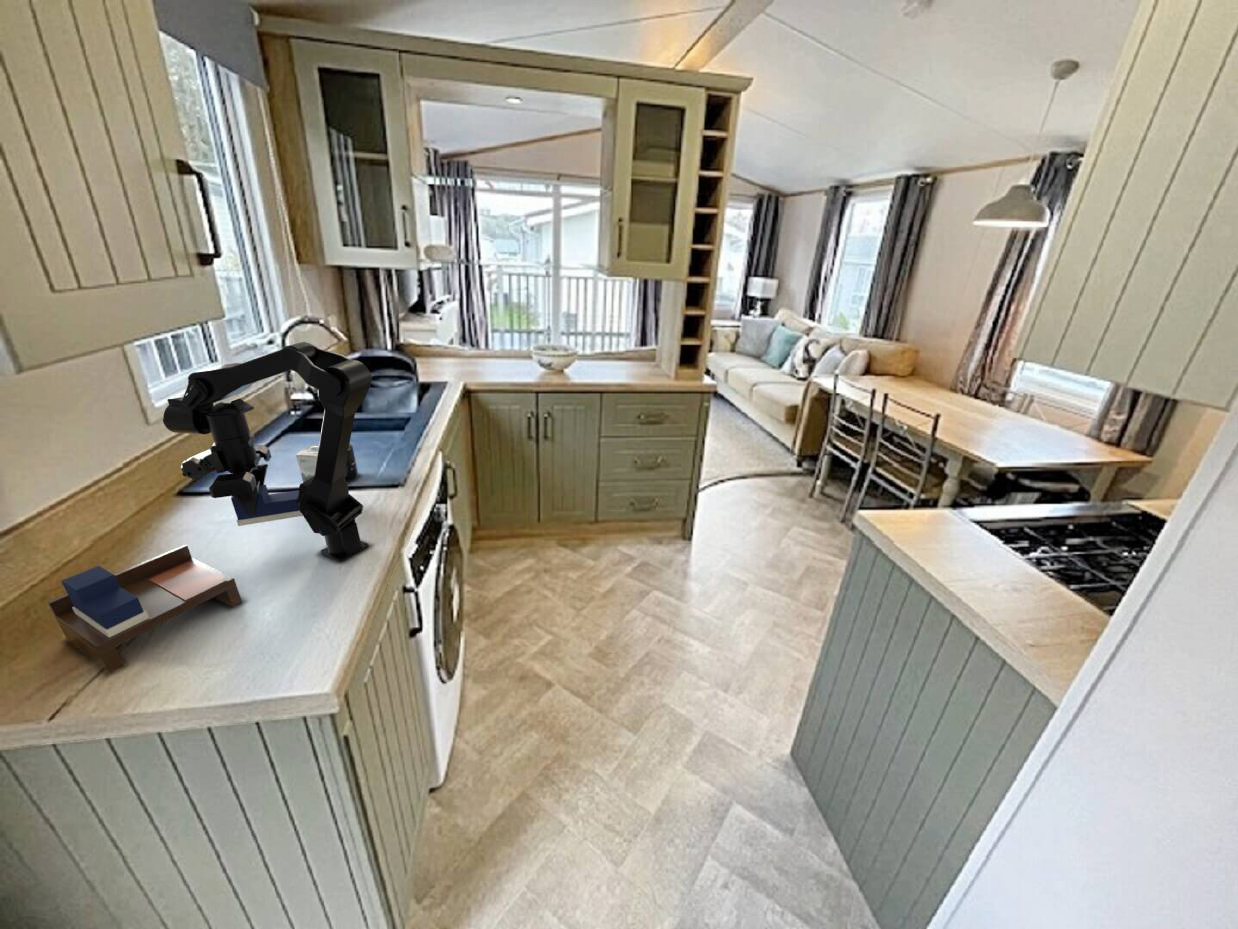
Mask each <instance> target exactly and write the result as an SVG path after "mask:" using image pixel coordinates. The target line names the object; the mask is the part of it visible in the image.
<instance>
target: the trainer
mask: <svg viewBox="0 0 1238 929" xmlns="http://www.w3.org/2000/svg"><path fill="white" fill-rule="evenodd" d="M298 497H299V489H296V490H290V491H289V490H288V491H283V492H277V493H269V491H268V487H267V484H264V485H259V491H258V498H257V506H256V512H255V514H254V515H248V514H247V513H246V511H245V510H244V509H243V508H242V506H241V505H240V504H239V503H238V501H237V500H236V499H235V498H234V497H233V496H230V500H231V503H232V507H233V510H234V512H235V515H236V518H237V520H236V523H237V526H238V527H242V526H246V525H254V524H261V523H266V522H267V523H268V522H273V521H279V520H285V519H291V518H298V517H304V516H303V515H302V513H300V510H299V503H296V501H297V500H298Z"/></svg>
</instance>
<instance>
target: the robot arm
mask: <svg viewBox="0 0 1238 929" xmlns="http://www.w3.org/2000/svg"><path fill="white" fill-rule="evenodd" d="M289 371H293V372H295V373H296V374H298V375H299V377H300V378H301V379H302V380H303V381H304V383H305V384H307V385H308V386H310V387H312V388H314V389H315V390H317V397H318V399H319V402H320V403H321V405H322V407H323V409H324V411H323V418H322V424H321V431H320V438H319V443H318V446H319V449H318V456H317V462H316V468H315V475H314V476H312V477H311V478H309V479H308V480H306V481H305V482H303V481H302V482H301V483H300V484H299V486H298V490H299V497H298V500H297V501H296V503H299V510H300V513H302V515H303V516H302V517H303V518H304V520H305V521H306V523H307V524H308V526H309V527H310V529H311V530H312V532H313V533H314V534H319V535H320V536H321V537H324V541H325V544H326V547H324V548H323V549H321V550H320V554H321V555H324V556H326V557H328V558H330V559H333V560H336V561H338V562H343V561H346V560H347V559H350V558H351V557H353V556H355V555H357V554H359V553H360V552H362V551H364V550H365V549H367V548H369V547H370V545H369V544H370V543H368V542H365V541H362V540H361V536H360V532H359V528H358V523H357V522H356V518H358V517H359V516H361V515H362V514H363V510H364V505H363V504H362V503H361V502H360V501H358V499H356V498H355V497H354V496H353V495H351V493H350V492H349V491H350V490H349V489H350V487H349V484H348V482H346V480H345V479H344V471H345V465H346V460H347V454H348V449H349V444H351V437H352V432H353V427H354V421H355V418H356V417H355V416H356V413H357V411H358V409H359V408H360V406H361V405H362V403H363V402H364V400H365V399H366V398H367V395H368V392H369V390H370V387H371V385H372V382H373V375H372V372H371V371H370V370H369V369H368V367H367V366H366V365H365V364H364V363H363V362H361V361H359V360H357V359H351V358H349V357H347V356H345V355H344V354H340V353H337V352H334V351H330V350H326V349H323V348H320V347H318V346H316V345H315V344H312V343H310V342H306V341H301V342H300V341H299V342H297V343H292V344H290V345H286V346H284V347H283V348H281V349H279V350H277V351H273V352H270V353H267V354H265V355H262V356H259V357H257V358H252V359H250V360H247V361H244V362H242V363H241V362H239V363H238V362H234V363H225V364H220V365H216V366H211V367H209V368H204V369H201V370H197V371H194V372H191V373H190V374H189V375H188V376H187V386H186V388H185V392H184V395H176V396H173V397H169V398H167V403H168V405H167V407H166V408H165V409H164V411H163V418H162V422H163V425H164V427H165V429H167V430H169V431H170V432H171V433H176V434H191V435H209V434H211V437H212V440H213V444H212V445H211V446H210V448H209V449H207V450H204V451H202V452H199V453H198V454H195V455H193V456H191V457H189V458H187V459H185V460H184V461H182V462H181V466H180V470H181V472H182V474H181V476H182V477H185V478H186V477H187V478H188V479H191V480H192V481H197V480H200V478H201V477H204V476H206V475H208V474H210V473H213V472H214V471H216V474H218V475H217V476H216V478H215V479H214V480H213V481H212V483H211V484H210V485H209V487H208V491H209V493H210V496H211V498H213V499H219V498H226V497H232V496H233V497H234V498H235V499H236V500H237V501H238V503H239V504H240V505H241V506H242V508H243V509H244V510H245V511H246V513H247V514H248V515H254V514H255V512H256V506H257V498H258V491H259V485H265V482H266V478H267V474H268V473H267V472H268V468H269V464H268V463H265V464H264V463H263V464H260V461H261V460H262V459H263V461H265V462H270V461H271V458H272V454H271V451H270V448H269V447H267V446H266V445H265V444H264V445H263V444H260V445H255V444H254V442H255V441H256V436H255V434H254V433H251V431H250V427H249V423H248V420H247V417H246V413H248V412H251V411H253V410H254V409H255V407H254V406H253V405H252V404H250V403H248V402H246V401H245V400H243V398H241V397H240V398H235V399H233V400H231V401H223V400H226V399H229V398H232V397H235V396H238V395H240V394H241V393H243V392H245V391H247V390H248V389H250V388H251V387H252V386H253V385H254V384H255V383H258V382H260V381H263V380H266V379H269V378H272V377H275V376H277V375H281V374H283V373H286V372H289ZM217 402H218V403H217ZM214 403H215V404H214ZM226 472H228V473H226ZM223 473H224V474H223Z"/></svg>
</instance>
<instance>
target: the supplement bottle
mask: <svg viewBox="0 0 1238 929" xmlns="http://www.w3.org/2000/svg"><path fill="white" fill-rule="evenodd" d="M358 478H359V471H358V464H357V460H356V456H355V450H354V447H353V444H351V443H350V444H349V449H348V454H347V460H346V465H345V471H344V479H345V480H346V482H347V483H351V482H353V481H355V480H357V479H358Z"/></svg>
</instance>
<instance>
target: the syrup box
mask: <svg viewBox="0 0 1238 929" xmlns="http://www.w3.org/2000/svg"><path fill="white" fill-rule="evenodd" d="M318 449H319V445H310V446H308V447H306V448H303V449H301V450H300V451H299V452H298V453H296V454H295V458H296V462H297V465H298V469H299V472H300V476H301V480H302V483H303V482H305V481H306V480H308V479H309V478H311V477H312V476H314V475H315V468H316V462H317V456H318Z"/></svg>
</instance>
